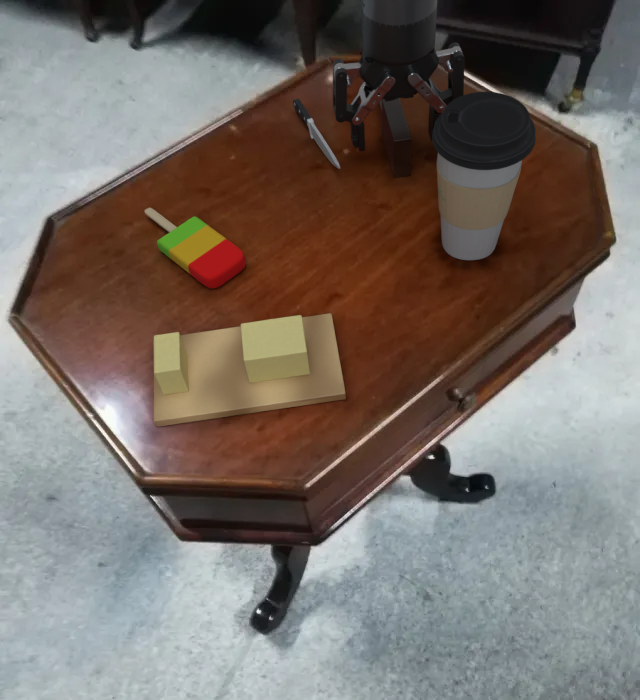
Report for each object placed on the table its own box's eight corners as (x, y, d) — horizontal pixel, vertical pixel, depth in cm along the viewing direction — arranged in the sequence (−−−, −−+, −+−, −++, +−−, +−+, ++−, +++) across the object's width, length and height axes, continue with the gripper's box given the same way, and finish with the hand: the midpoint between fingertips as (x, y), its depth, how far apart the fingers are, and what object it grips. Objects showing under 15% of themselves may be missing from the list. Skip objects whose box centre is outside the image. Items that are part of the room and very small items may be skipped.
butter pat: (187, 354, 73) (179, 331, 70) (188, 391, 71) (180, 369, 68) (163, 358, 73) (153, 335, 70) (163, 395, 71) (154, 373, 68)
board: (332, 319, 75) (331, 312, 75) (346, 399, 70) (345, 393, 69) (155, 345, 75) (153, 338, 74) (156, 427, 70) (153, 421, 69)
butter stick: (304, 338, 73) (301, 314, 70) (310, 374, 71) (307, 351, 68) (246, 346, 73) (240, 323, 70) (249, 383, 71) (243, 360, 68)
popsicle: (212, 294, 78) (209, 281, 77) (129, 228, 85) (124, 215, 83) (251, 265, 80) (249, 253, 79) (167, 203, 87) (163, 190, 85)
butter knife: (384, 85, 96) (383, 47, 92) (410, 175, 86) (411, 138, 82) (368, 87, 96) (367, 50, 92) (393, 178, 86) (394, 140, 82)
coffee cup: (412, 224, 82) (417, 101, 69) (492, 202, 83) (511, 76, 70) (445, 283, 77) (457, 162, 64) (530, 259, 78) (558, 134, 65)
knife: (343, 178, 87) (342, 164, 85) (337, 180, 87) (336, 166, 85) (299, 110, 94) (297, 95, 93) (293, 111, 94) (292, 97, 93)
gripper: (332, 31, 71) (341, 171, 85) (479, 10, 71) (464, 153, 85) (322, -9, 75) (332, 131, 89) (461, -29, 75) (450, 114, 89)
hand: (397, 141), depth 87 cm, fingers open, 8 cm apart
